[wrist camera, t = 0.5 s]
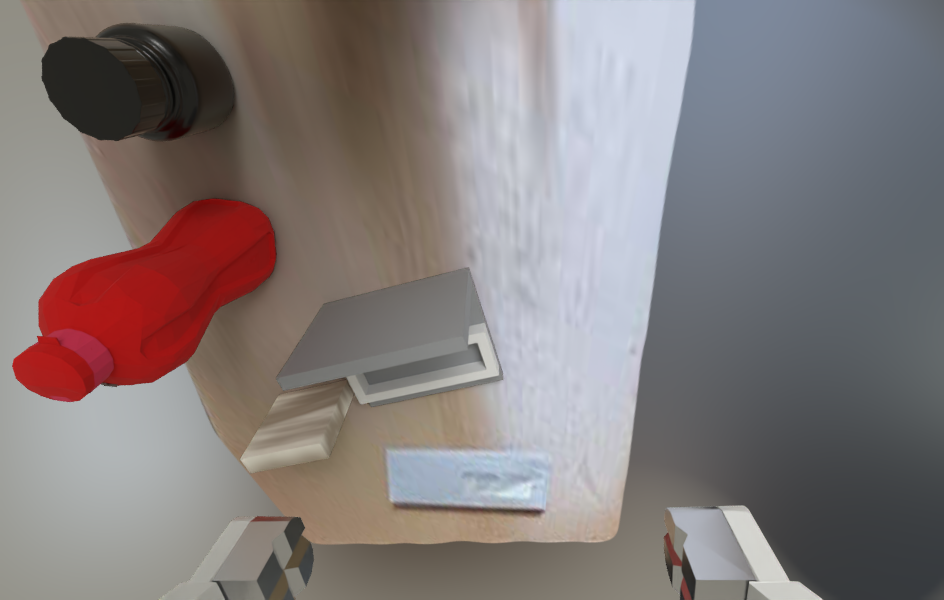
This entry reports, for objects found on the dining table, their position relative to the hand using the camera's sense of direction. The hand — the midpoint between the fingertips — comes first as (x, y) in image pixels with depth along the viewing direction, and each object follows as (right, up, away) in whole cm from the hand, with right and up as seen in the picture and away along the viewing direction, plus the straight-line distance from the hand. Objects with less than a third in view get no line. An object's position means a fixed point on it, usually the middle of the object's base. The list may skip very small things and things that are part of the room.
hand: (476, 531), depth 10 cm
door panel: (-21, -7, +51) cm, 56 cm away
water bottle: (-26, +11, +41) cm, 50 cm away
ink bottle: (-27, +26, +33) cm, 50 cm away
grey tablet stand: (-7, 0, +46) cm, 47 cm away
